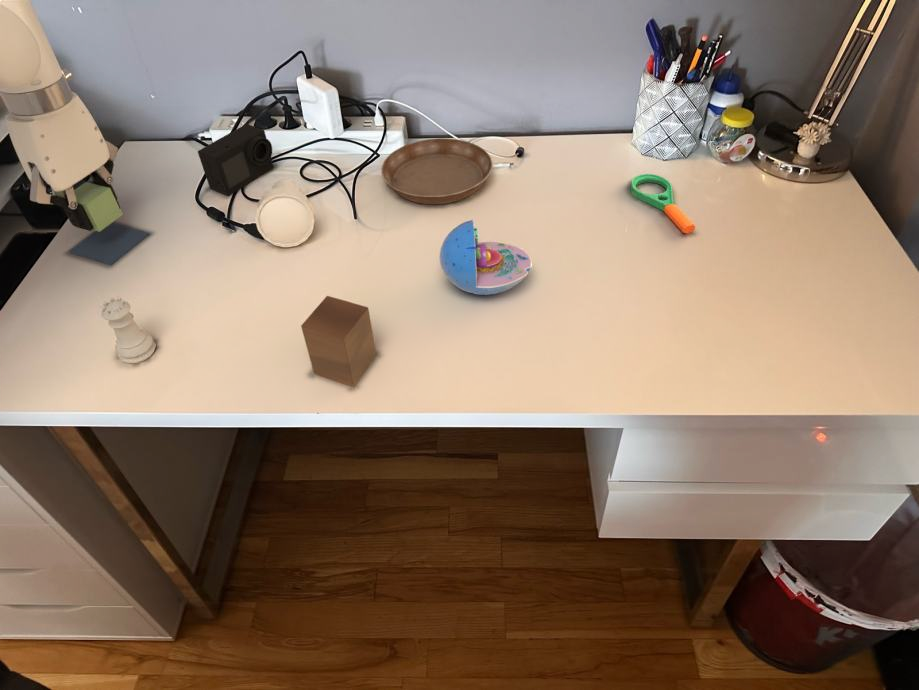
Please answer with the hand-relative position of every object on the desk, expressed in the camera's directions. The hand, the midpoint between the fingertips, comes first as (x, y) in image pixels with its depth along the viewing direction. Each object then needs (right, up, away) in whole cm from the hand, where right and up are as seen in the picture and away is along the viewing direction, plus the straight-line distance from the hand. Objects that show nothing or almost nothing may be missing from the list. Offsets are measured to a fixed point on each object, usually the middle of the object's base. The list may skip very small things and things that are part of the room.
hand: (97, 216), depth 96 cm
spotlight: (+26, -1, +5) cm, 27 cm away
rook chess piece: (+12, -19, -13) cm, 26 cm away
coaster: (0, -3, +3) cm, 5 cm away
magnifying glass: (+83, +3, +6) cm, 83 cm away
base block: (+38, -21, -15) cm, 46 cm away
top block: (0, 0, 0) cm, 1 cm away
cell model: (+55, -10, -6) cm, 56 cm away
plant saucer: (+48, +8, +13) cm, 51 cm away
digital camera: (+16, +9, +15) cm, 24 cm away
